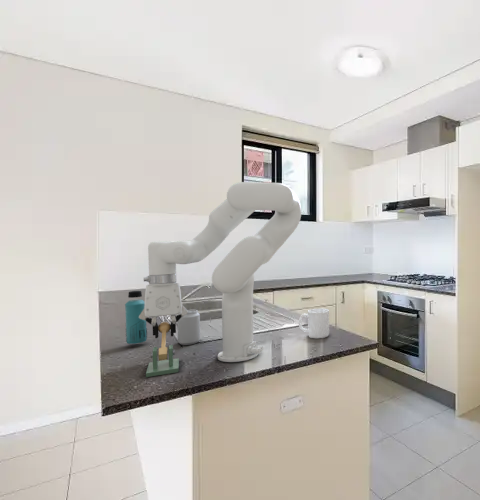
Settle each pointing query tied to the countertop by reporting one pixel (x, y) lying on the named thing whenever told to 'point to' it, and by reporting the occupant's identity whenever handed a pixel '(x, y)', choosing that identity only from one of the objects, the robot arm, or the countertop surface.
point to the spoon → (163, 340)
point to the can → (189, 328)
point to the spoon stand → (162, 364)
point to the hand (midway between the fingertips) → (164, 335)
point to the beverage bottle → (135, 319)
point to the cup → (316, 323)
